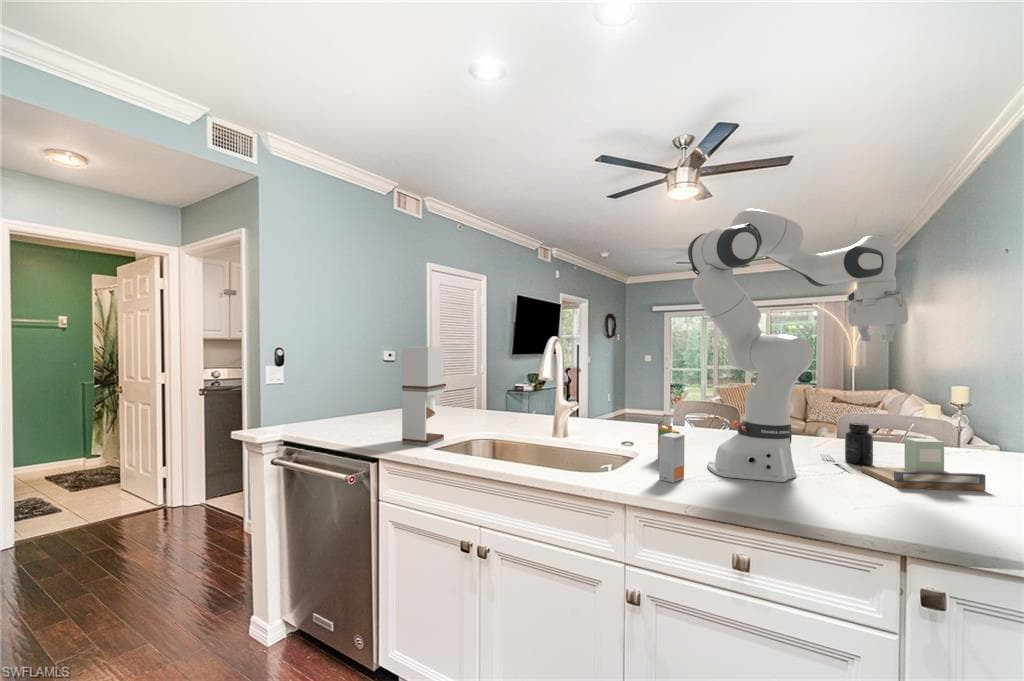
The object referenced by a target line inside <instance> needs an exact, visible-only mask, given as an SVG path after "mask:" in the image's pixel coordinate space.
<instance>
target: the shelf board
mask: <svg viewBox="0 0 1024 681" xmlns="http://www.w3.org/2000/svg"><path fill="white" fill-rule="evenodd" d="M863 472H864V473H863ZM861 473H863V474H865V473H866V474H865V475H867V474H869V475H868V476H870V475H871V476H870V477H872V476H873V477H872V478H874V477H875V478H874V479H876V478H878V479H880V480H879V481H881V480H882V481H881V482H883V481H884V482H883V483H885V482H886V483H885V484H887V483H888V485H889V486H892V487H894V486H895V488H896V489H917V488H930V489H929V490H943V489H954V490H953V491H969V490H985V491H986V474H983V473H969V472H949V471H946V470H944V473H943V472H913V471H905V467H882V466H881V467H880V466H861ZM878 479H877V480H878ZM931 488H932V489H931Z"/></svg>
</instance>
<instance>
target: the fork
mask: <svg viewBox="0 0 1024 681" xmlns="http://www.w3.org/2000/svg"><path fill="white" fill-rule="evenodd" d="M820 456H821V458H822V459H823V460H826V461H827V460H829V461H830V460H832V461H833V460H834V461H836V460H835V459H834V458H833V457H832V456H831V455H830V454H829V453H828V454H827V453H825V454H824V453H822V454H821V453H820ZM834 461H833V462H834ZM837 464H838V466H840V467H842V468H843V469H844V470H845V471H846V472H848V474H850V473H852V474H855V473H856V472H854V471H852V470H850V469H849V468H848V467H846V466H845V465H843V464H841V463H837Z"/></svg>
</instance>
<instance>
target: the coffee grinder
mask: <svg viewBox="0 0 1024 681" xmlns="http://www.w3.org/2000/svg"><path fill="white" fill-rule="evenodd" d="M401 348H402V349H401V352H402V353H401V355H402V356H401V357H402V358H401V359H402V360H401V363H402V364H401V366H402V368H401V378H402V379H401V382H402V383H401V389H402V390H401V392H402V393H401V401H402V404H401V405H402V406H401V412H402V414H401V415H402V417H401V424H402V425H401V429H402V430H401V434H402V435H401V439H402V440H401V442H402V443H401V444H402V445H407V446H419V447H420V446H421V447H430V446H432V445H435V444H438V443H440V442H441V441H444V440H445V435H444V434H441V433H439V434H438V433H432V432H427V420H428V419H431V418H432V417H434V416H435V414H436V395H441V394H444V393H445V378H444V377H445V374H444V373H445V371H444V370H445V362H444V361H445V356H444V354H445V347H444V346H433V347H432V346H430V347H429V346H428V347H426V346H424V347H423V346H402V347H401Z"/></svg>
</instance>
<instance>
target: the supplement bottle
mask: <svg viewBox="0 0 1024 681" xmlns="http://www.w3.org/2000/svg"><path fill="white" fill-rule="evenodd" d="M869 427H870V424H869V423H868V424H867V423H861V422H849V423H848V430H849V431H846V432H845V434H844V460H845V462H846V463H847V462H848V464H850V463H851V465H855V464H856V465H855V466H862V465H864V466H863V467H871V466H872V465H874V436H873V435H872V434H871V433H869V432H870V429H869ZM870 465H871V466H870Z"/></svg>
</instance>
